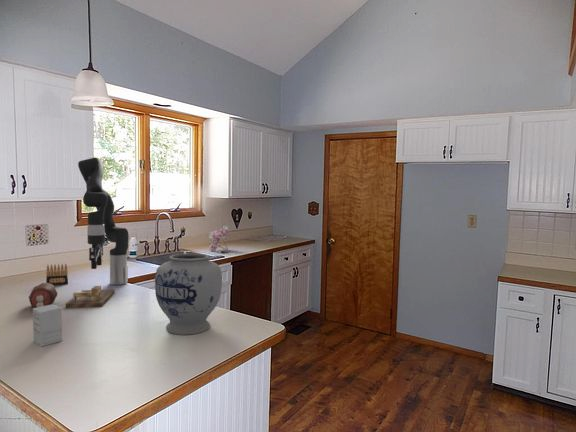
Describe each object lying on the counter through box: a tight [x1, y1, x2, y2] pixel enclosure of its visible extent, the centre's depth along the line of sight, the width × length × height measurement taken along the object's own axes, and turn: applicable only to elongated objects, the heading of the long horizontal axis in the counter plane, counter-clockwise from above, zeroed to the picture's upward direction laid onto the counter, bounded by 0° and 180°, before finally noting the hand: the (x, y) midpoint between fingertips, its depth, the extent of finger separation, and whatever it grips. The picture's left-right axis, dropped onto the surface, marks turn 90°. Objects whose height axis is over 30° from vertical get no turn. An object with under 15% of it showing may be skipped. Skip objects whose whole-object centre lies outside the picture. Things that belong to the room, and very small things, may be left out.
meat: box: [28, 282, 58, 309], centre depth 184 cm, size 20×12×10 cm, turn 24°
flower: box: [208, 225, 231, 253], centre depth 348 cm, size 20×22×25 cm
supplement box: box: [32, 303, 63, 347], centre depth 144 cm, size 7×7×13 cm
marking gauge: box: [72, 285, 102, 301], centre depth 190 cm, size 12×5×6 cm, turn 101°
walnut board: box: [64, 289, 116, 309], centre depth 196 cm, size 16×24×2 cm, turn 11°
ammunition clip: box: [45, 263, 69, 286], centre depth 224 cm, size 11×2×12 cm, turn 115°
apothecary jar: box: [154, 253, 223, 336], centre depth 162 cm, size 27×27×30 cm
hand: (96, 267), depth 190 cm, fingers open, 8 cm apart
